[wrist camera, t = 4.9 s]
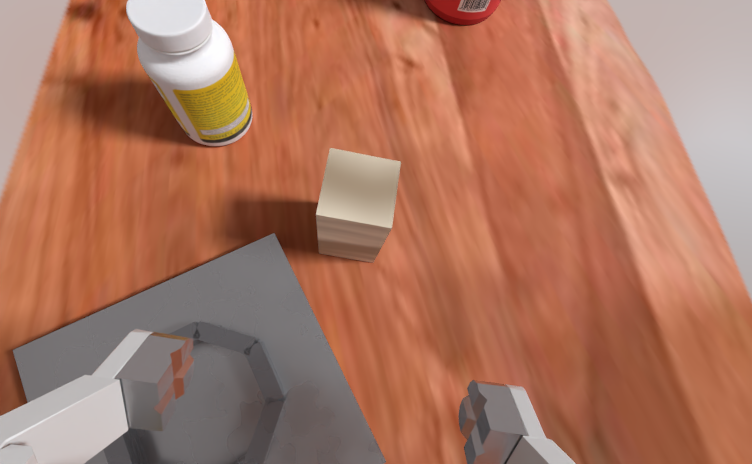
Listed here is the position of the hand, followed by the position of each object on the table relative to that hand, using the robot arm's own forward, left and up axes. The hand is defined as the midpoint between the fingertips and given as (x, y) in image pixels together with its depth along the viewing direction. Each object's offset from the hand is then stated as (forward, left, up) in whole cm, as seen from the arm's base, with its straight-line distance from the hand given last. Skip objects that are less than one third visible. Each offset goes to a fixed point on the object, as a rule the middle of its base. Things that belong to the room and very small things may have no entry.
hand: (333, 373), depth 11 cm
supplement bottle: (+20, 0, -14) cm, 25 cm away
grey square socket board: (+1, +8, -14) cm, 16 cm away
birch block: (+7, -5, -14) cm, 17 cm away
